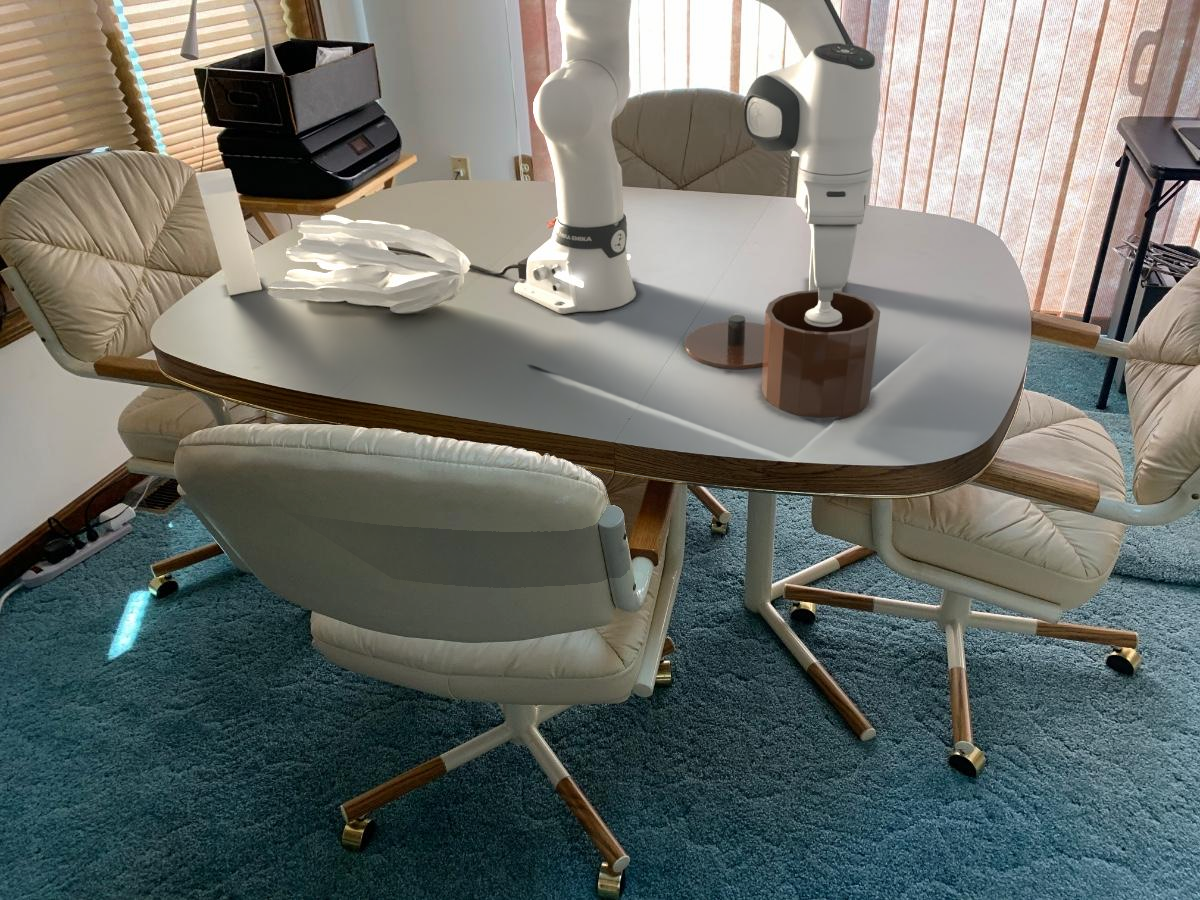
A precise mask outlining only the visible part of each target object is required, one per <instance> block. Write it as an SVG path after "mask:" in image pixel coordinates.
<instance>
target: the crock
mask: <svg viewBox="0 0 1200 900" xmlns="http://www.w3.org/2000/svg"><path fill="white" fill-rule="evenodd" d="M818 291H819V290H810V291H809V290H799V291H794V292H790V293H785V294H783V295H779V296H778V297H776V298H774V299H772V300H771V301H770V302H768V303H767V307H766V309H765V312H764V313H765V315H764V325H765V332H764V352H763V366H762V375H761V392H762V394H763V397H764V398H765V401H767V402H768V403H769V404H771V405H772V406H774V407H775V408H777V409H779V410H781V411H784V412H786V413H788V414H792V415H796V416H800V417H805V418H806V417H807V418H823V419H824V418H835V419H834V420H835V421H838V420H842V419H847V418H852V417H853V416H856V415H858V414H860V413H861V412H863V410H865V409H866V408H867V407H868V405H869V403H870V398H871V393H872V391H871V390H872V383H873V375H874V374H873V373H874V367H875V366H874V365H875V358H876V351H877V342H878V334H879V326H880V319H881V318H880V317H881V311H880V309H879V308H878V307H877V306H876V305H875V304H874V302H872V301H870V300H868V299H866V298H864V297H863V296H859V295H856V294H852V293H847V292H843V291H842V292H840V291H833V299H832V301H830V303H831V306H832V307H833V309H835V310H838V311H839V312H840V313H841V314H842V322H841V323H840V324H838V325H836V326H832V327H818V326H813V325H810V324H808V323H807V322H805V320H804V317H805V313H806V312H807V311H808V310H810V309H812V308H815V307H816V306H817V305H818V302H819V299H818ZM836 417H837V418H836Z"/></svg>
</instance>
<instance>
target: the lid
mask: <svg viewBox="0 0 1200 900" xmlns="http://www.w3.org/2000/svg"><path fill="white" fill-rule="evenodd" d="M764 332H765V324H762V323H758V322H752V321H746V316H744V315H741V314H732V315H729V316H728V318H727V321H719V322H713V323H708V324H706V325H702V326H700V327H698V328H695V329H694V330H692V331H691V332H690V333H688V334H687V335H686V337H685V339H684V350H685V352H686V353H687V355H688V356H690V358H691V359H693V360H695V361H697V362H699V363H701V364H705V365H707V366H711V367H714V368H715V367H716V368H721V369H728V370H729V369H731V370H743V369H746V370H747V369H754V368H761V367H763V352H764Z"/></svg>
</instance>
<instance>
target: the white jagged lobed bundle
mask: <svg viewBox="0 0 1200 900" xmlns="http://www.w3.org/2000/svg"><path fill="white" fill-rule="evenodd" d="M296 226H297V227H298V229H297V231H298V233H301V234H303V235H302V236H303V237H302V238H300V239H298V240H297V244H296V245H295V246H294V245H290V246H288V247H286V252H285V255H286V258H287V259H288V260H290V261H293V262H300V263H301V262H302V263H305V262H312V263H317V265H319V267H320V268H321V269H324V270H330V271H327V272H326V273H324V272H321V271H313V270H310V269H309V270H308V269H304V268H298V269H290V270H289V271H286V276H285V277H284V279H285V281H283V280H278V281H273V282H271V283H270V284H269V285H268V286H269V287H267V289H268V291H267V294H268V295H269V296H271V297H274V298H278V299H287V300H304V301H305V300H306V301H309V302H318V303H319V302H320V303H321V302H322V303H323V302H326V303H327V302H328V303H336V302H337V303H338V302H344V301H345V302H346V303H348V304H352V305H362V306H379V307H387V308H390V309H389V310H390V312H392V313H395V314H401V315H409V314H414V313H417V312H421V311H424V310H428V309H430V308H433V307H435V306H437V305H439V304H441V303H443V302H447V301H451V300H452V299H454V298H456V296H457V294H458V292H460V290H462V288H463V287H462V286H463V284H465V275H466V274H467V273H468V272H469V270H471V268H469V266H470V265H471V261H470V260H469V258H468V256H466V255H465V253H464V252H462V251H461V250H459V249H458V248H457V247H455V245H453V244H452V243H450V242H448V241H447V240H446V239H444V238H442V237H439V235H436V234H434V233H432V232H429V231H426V230H423V229H419V228H411V227H409V226H408V225H405V224H395V223H389V222H385V221H379V220H378V221H376V220H369V219H361V220H360V219H357V220H355V221H354V220H352V219H349V218H347V217H343V216H340V215H335V214H325V215H323V216H321V217H320V219H319V218H316V219H307V220H304V221H301V222H300V224H296ZM385 243H386V244H395V243H401V245H402V246H403V247H408V248H409V249H410V250H414V251H420V252H421V253H425V254H427V255H429V256H431V257H432V258H429V257H425V256H420V255H412V254H397V253H395V252H393V251H390V250H388V248H387V246H388V245H386V244H385Z"/></svg>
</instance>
